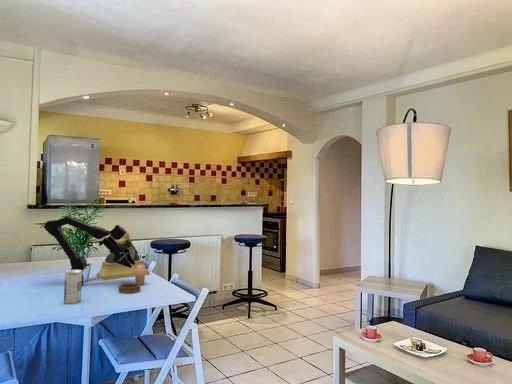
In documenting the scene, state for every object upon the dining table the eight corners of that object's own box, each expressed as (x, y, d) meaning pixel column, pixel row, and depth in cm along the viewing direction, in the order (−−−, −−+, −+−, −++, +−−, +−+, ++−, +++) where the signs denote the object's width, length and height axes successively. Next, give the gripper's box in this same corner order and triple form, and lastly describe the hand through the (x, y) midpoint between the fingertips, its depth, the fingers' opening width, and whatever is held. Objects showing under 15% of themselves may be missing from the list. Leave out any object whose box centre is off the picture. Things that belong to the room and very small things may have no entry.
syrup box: (68, 300, 179) (69, 269, 179) (81, 300, 180) (82, 269, 180) (63, 303, 174) (64, 271, 174) (76, 303, 174) (77, 271, 174)
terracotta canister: (138, 286, 209) (138, 266, 209) (133, 284, 212) (133, 265, 212) (146, 285, 212) (146, 265, 213) (141, 283, 216) (141, 264, 216)
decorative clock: (104, 280, 221) (105, 229, 222) (96, 276, 231) (97, 227, 231) (149, 274, 240) (150, 227, 240) (140, 271, 249) (141, 225, 250)
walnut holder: (125, 294, 191) (125, 288, 191) (115, 290, 198) (115, 285, 198) (144, 291, 199) (144, 285, 199) (133, 287, 206) (133, 282, 206)
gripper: (120, 237, 202) (141, 258, 203) (127, 233, 221) (146, 252, 222) (104, 252, 201) (125, 273, 202) (112, 247, 219) (132, 266, 221)
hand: (133, 265), depth 212 cm, fingers open, 9 cm apart
